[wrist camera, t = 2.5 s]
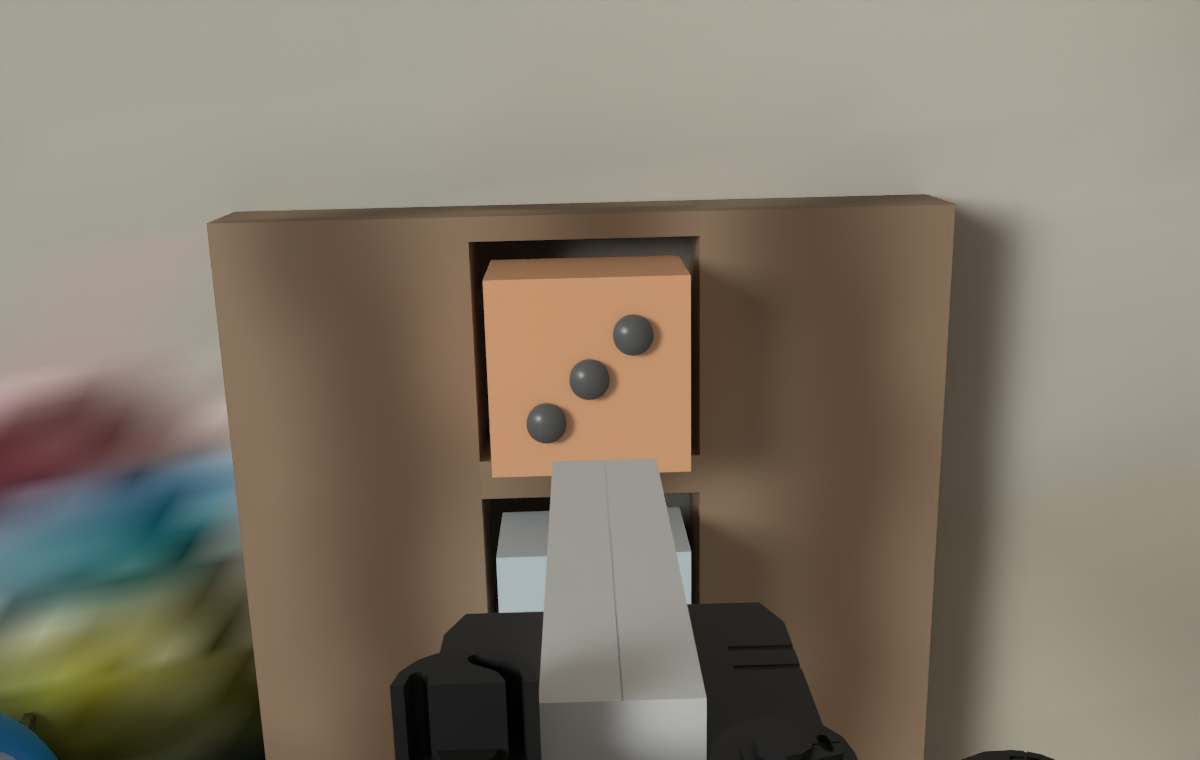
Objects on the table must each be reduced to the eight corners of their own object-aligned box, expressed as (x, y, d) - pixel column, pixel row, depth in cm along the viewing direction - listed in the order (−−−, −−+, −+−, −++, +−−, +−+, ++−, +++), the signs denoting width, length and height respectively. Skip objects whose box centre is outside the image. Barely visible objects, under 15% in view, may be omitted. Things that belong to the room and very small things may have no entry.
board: (303, 872, 35) (284, 929, 33) (234, 211, 30) (206, 223, 27) (892, 850, 35) (915, 905, 33) (925, 194, 30) (955, 204, 28)
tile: (499, 439, 29) (491, 480, 26) (490, 259, 28) (482, 282, 25) (678, 433, 29) (692, 474, 26) (678, 255, 28) (691, 276, 25)
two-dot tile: (510, 671, 31) (504, 735, 28) (502, 512, 30) (495, 561, 27) (680, 666, 31) (692, 728, 28) (679, 507, 30) (692, 555, 27)
